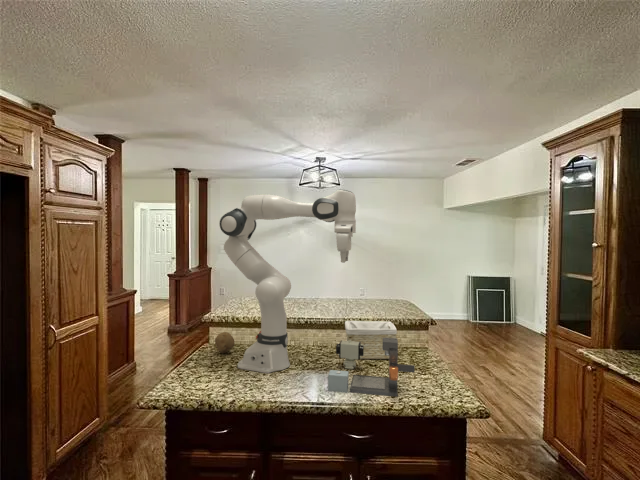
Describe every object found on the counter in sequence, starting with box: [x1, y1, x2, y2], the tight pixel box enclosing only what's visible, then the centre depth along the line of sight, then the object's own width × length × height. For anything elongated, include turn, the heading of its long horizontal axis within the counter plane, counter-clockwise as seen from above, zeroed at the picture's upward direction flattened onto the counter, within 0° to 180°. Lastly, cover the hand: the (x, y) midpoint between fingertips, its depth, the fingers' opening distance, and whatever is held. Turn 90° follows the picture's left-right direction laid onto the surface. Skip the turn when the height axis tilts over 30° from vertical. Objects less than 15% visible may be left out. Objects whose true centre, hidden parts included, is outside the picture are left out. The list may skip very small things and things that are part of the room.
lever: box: [388, 366, 399, 381], centre depth 127 cm, size 3×6×4 cm, turn 169°
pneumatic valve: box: [335, 340, 364, 370], centre depth 155 cm, size 6×12×12 cm, turn 78°
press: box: [349, 337, 416, 398], centre depth 135 cm, size 23×14×18 cm, turn 79°
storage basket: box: [344, 320, 398, 360], centre depth 173 cm, size 24×16×15 cm
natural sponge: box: [214, 331, 236, 354], centre depth 172 cm, size 9×9×10 cm
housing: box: [327, 369, 350, 394], centre depth 133 cm, size 7×5×6 cm
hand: (344, 261), depth 150 cm, fingers open, 8 cm apart
